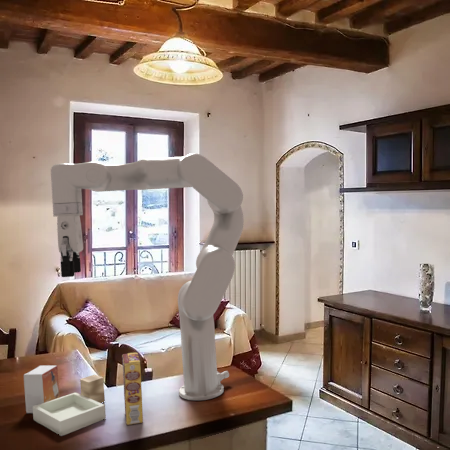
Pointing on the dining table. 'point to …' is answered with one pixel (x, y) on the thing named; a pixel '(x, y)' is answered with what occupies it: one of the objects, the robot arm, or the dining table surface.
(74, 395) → the tray
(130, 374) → the candy box
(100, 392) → the birch block
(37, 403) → the small box
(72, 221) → the robot arm
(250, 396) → the dining table surface
